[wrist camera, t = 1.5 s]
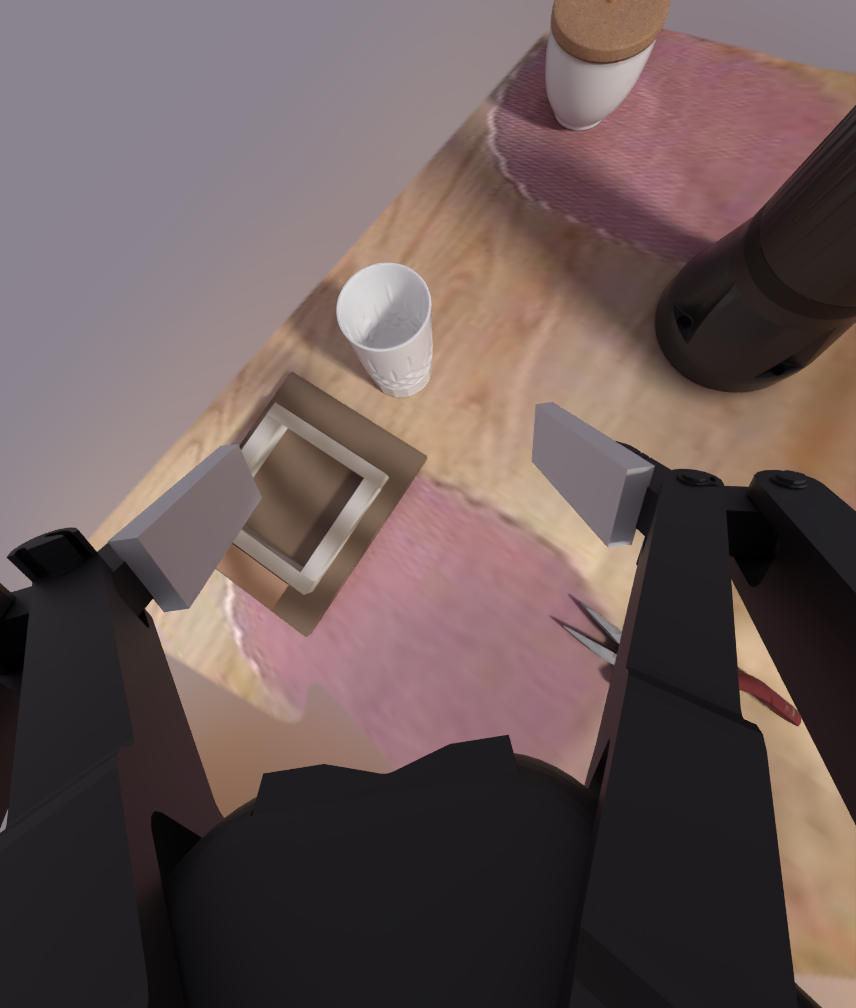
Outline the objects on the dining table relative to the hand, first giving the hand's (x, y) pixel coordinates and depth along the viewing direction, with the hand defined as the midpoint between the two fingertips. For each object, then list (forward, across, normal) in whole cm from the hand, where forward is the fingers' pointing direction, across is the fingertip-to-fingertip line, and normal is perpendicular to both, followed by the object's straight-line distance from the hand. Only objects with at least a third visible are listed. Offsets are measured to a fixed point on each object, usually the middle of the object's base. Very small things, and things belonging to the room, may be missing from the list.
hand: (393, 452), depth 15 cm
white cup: (+25, +1, -1) cm, 25 cm away
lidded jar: (+42, +26, +22) cm, 54 cm away
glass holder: (+18, -12, -11) cm, 24 cm away
